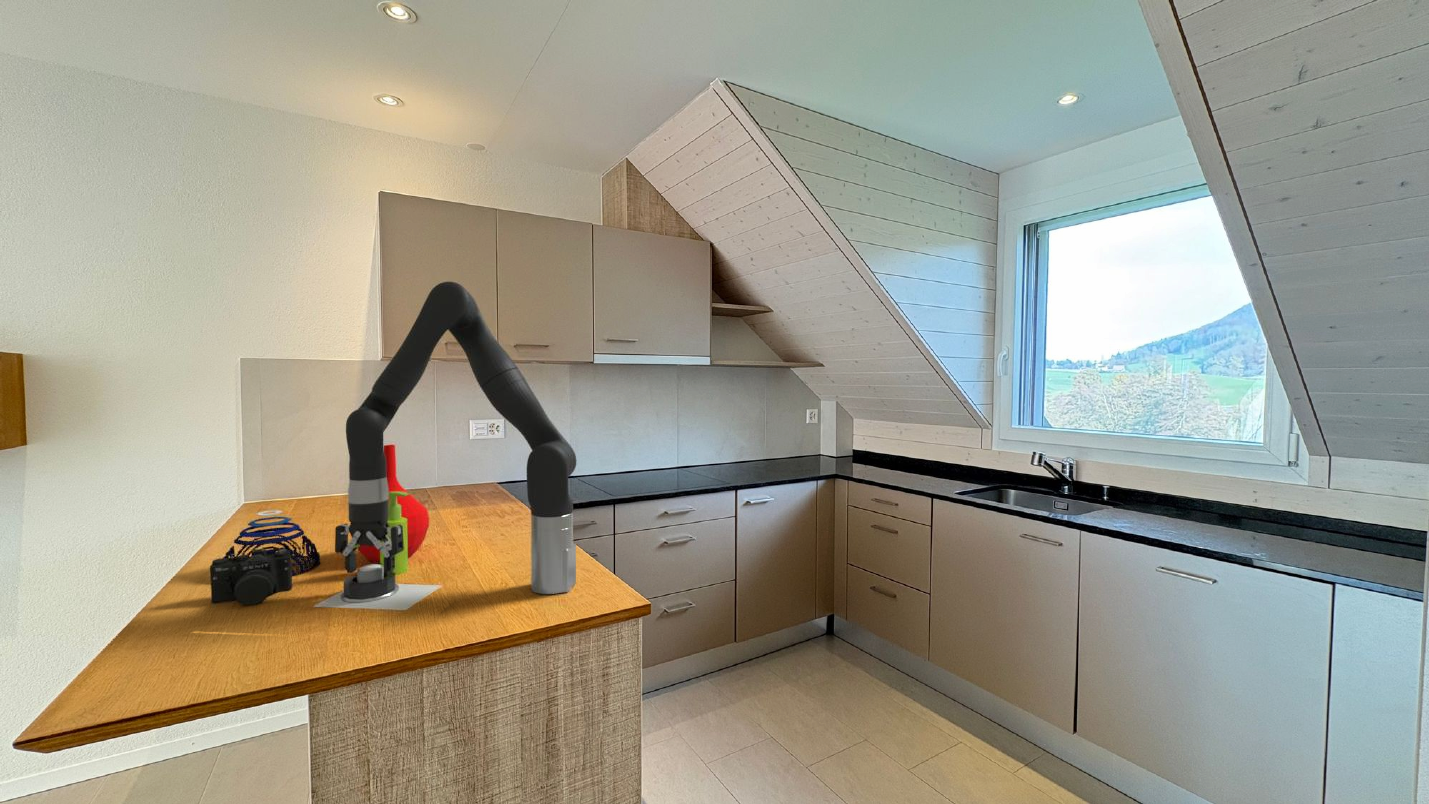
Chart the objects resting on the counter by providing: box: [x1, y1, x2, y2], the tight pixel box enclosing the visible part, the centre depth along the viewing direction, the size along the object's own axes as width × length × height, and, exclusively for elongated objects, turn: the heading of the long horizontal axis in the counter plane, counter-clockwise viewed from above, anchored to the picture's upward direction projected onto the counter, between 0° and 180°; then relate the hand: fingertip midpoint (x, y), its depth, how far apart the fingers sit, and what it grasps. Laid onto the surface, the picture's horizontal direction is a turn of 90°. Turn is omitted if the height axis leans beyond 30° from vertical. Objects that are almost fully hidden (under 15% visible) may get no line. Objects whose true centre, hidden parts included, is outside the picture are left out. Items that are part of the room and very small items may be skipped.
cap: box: [356, 563, 384, 583], centre depth 128 cm, size 5×5×5 cm
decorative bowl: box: [222, 509, 321, 577], centre depth 144 cm, size 20×20×14 cm
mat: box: [312, 583, 443, 611], centre depth 127 cm, size 20×14×1 cm
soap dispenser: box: [379, 491, 411, 576], centre depth 142 cm, size 6×7×20 cm
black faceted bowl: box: [341, 570, 399, 603], centre depth 128 cm, size 11×11×4 cm
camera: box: [209, 547, 293, 606], centre depth 125 cm, size 14×11×10 cm
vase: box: [349, 444, 430, 563], centre depth 155 cm, size 18×18×30 cm
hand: (370, 572), depth 128 cm, fingers open, 8 cm apart
